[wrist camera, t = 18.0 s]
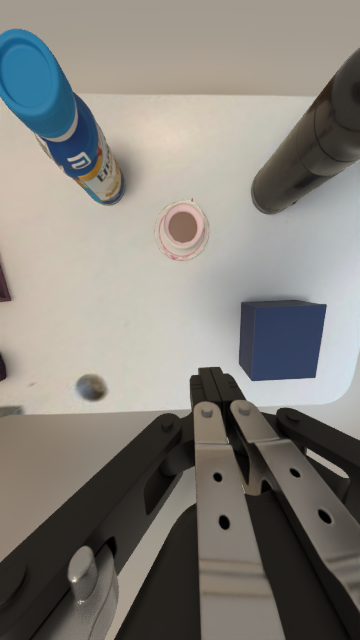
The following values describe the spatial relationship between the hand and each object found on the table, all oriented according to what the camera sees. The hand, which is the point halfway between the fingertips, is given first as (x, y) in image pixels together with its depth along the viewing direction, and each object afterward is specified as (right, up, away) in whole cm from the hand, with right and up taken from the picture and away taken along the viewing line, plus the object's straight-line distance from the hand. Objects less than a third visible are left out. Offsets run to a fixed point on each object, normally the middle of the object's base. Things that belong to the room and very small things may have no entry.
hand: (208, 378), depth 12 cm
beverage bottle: (-18, +33, +24) cm, 44 cm away
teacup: (-2, +24, +26) cm, 36 cm away
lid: (+21, -1, +25) cm, 33 cm away
